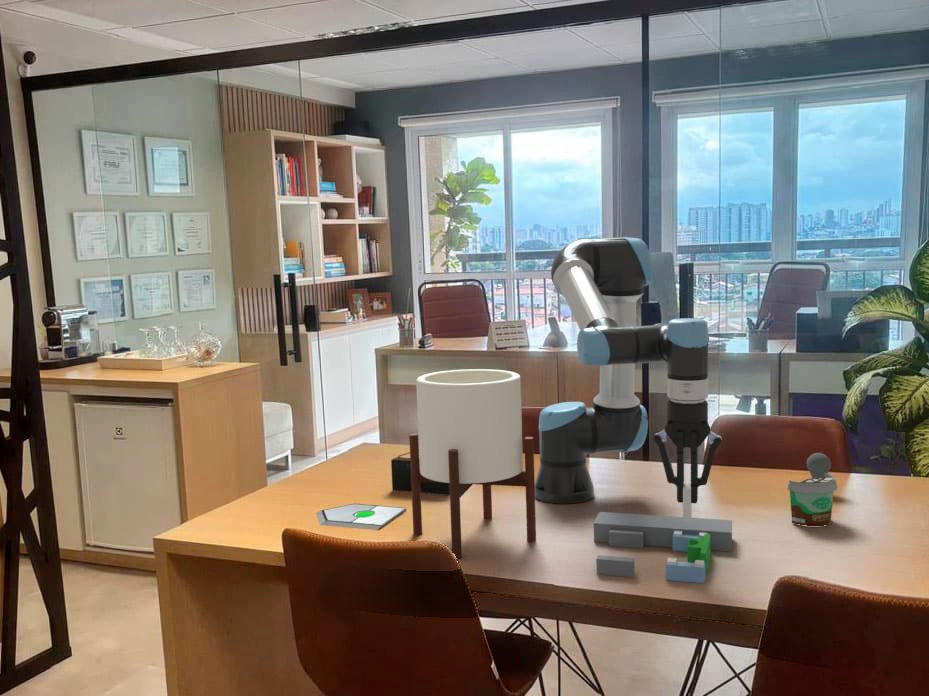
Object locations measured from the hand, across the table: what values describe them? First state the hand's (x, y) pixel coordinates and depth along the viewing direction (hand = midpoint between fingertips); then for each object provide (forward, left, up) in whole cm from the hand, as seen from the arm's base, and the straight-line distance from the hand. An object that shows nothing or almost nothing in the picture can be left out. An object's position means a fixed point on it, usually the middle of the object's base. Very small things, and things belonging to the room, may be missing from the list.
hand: (687, 518), depth 164 cm
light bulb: (+28, +56, -9) cm, 63 cm away
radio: (-69, +37, -9) cm, 79 cm away
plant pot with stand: (-46, +6, -9) cm, 47 cm away
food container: (+26, +31, -9) cm, 41 cm away
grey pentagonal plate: (-79, +14, -10) cm, 81 cm away
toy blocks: (-6, +4, -9) cm, 11 cm away
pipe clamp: (+2, 0, -10) cm, 10 cm away
